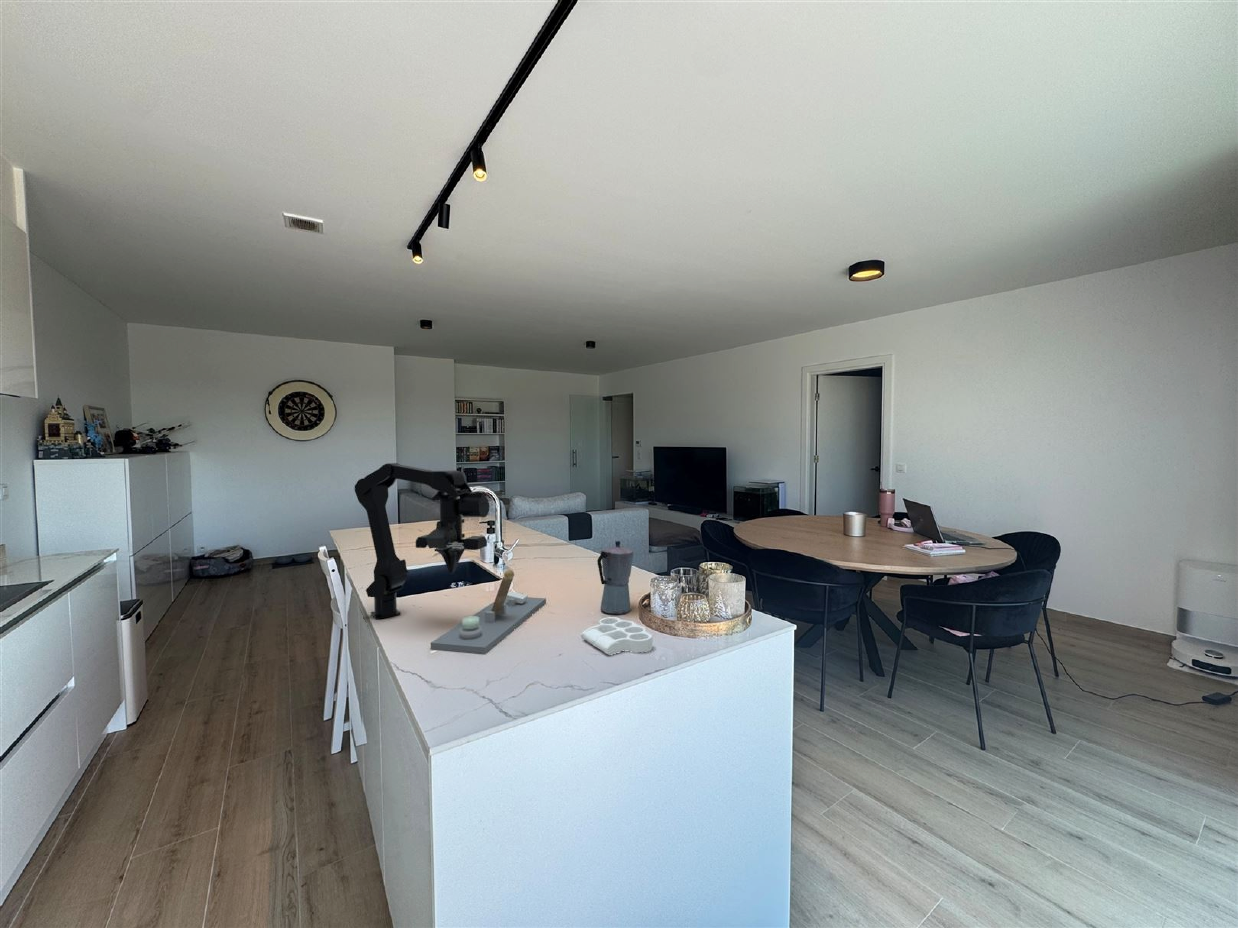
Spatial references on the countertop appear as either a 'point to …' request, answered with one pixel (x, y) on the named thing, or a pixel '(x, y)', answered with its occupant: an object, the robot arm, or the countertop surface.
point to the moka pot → (615, 578)
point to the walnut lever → (502, 592)
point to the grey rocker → (517, 597)
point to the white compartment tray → (618, 636)
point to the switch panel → (488, 627)
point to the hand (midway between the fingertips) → (451, 573)
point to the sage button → (470, 622)
